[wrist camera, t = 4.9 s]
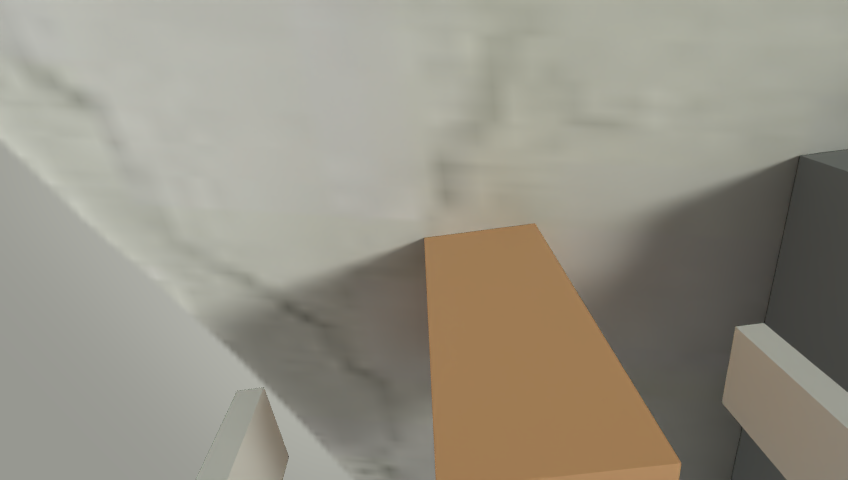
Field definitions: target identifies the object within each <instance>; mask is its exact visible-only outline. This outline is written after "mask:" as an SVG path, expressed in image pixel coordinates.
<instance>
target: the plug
mask: <svg viewBox="0 0 848 480" xmlns="http://www.w3.org/2000/svg"><path fill="white" fill-rule="evenodd" d="M424 245H425V265H426V286H427V307H428V328H429V348H430V369H431V390H432V411H433V431H434V452H435V473H436V480H679V477H680V470H681V462H680V460H679V458H678V457H677V455H676V453H675V452H674V450H673V448H672V447H671V445H670V444H669V442H668V440H667V439H666V437H665V435H664V434H663V432H662V430H661V429H660V427H659V426H658V424H657V422H656V421H655V419H654V417H653V416H652V414H651V412H650V411H649V409H648V408H647V406H646V404H645V403H644V401H643V399H642V398H641V396H640V394H639V393H638V391H637V390H636V388H635V386H634V385H633V383H632V381H631V380H630V378H629V376H628V375H627V373H626V372H625V370H624V368H623V367H622V365H621V363H620V362H619V360H618V358H617V357H616V355H615V354H614V352H613V350H612V349H611V347H610V345H609V344H608V342H607V340H606V339H605V337H604V336H603V334H602V332H601V331H600V329H599V327H598V326H597V324H596V322H595V321H594V319H593V318H592V316H591V314H590V313H589V311H588V309H587V308H586V306H585V304H584V303H583V301H582V300H581V298H580V296H579V295H578V293H577V291H576V290H575V288H574V286H573V285H572V283H571V282H570V280H569V278H568V277H567V275H566V273H565V272H564V270H563V268H562V267H561V265H560V264H559V262H558V260H557V259H556V257H555V255H554V254H553V252H552V250H551V249H550V247H549V246H548V244H547V242H546V241H545V239H544V237H543V236H542V234H541V232H540V231H539V229H538V228H537V226H536V224H527V225H520V226H512V227H504V228H497V229H489V230H481V231H474V232H466V233H458V234H450V235H443V236H435V237H427V238H424Z"/></svg>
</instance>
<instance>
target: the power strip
mask: <svg viewBox="0 0 848 480" xmlns="http://www.w3.org/2000/svg"><path fill="white" fill-rule="evenodd" d="M765 324H766V325H767V326H768V327H769V328H770V329H772V330H773V331H774V332H775V333H776V334H778V335H779V336H780V337H781V338H782V339H784V340H785V341H786V342H787V343H789V344H790V345H791V346H792V347H793V348H795V349H796V350H797V351H798V352H799V353H801V354H802V355H803V356H804V357H805V358H807V359H808V360H809V361H810V362H812V363H813V364H814V365H815V366H816V367H818V368H819V369H820V370H821V371H822V372H824V373H825V374H826V375H827V376H828V377H830V378H831V379H832V380H833V381H834V382H836V383H837V384H838V385H839V386H841V387H842V388H843V389H844V390H845V391H847V392H848V149H847V150H839V151H831V152H824V153H816V154H809V155H801V156H800V159H799V164H798V168H797V173H796V178H795V183H794V187H793V192H792V197H791V201H790V206H789V211H788V215H787V220H786V225H785V230H784V234H783V239H782V244H781V248H780V253H779V258H778V262H777V267H776V272H775V277H774V281H773V286H772V291H771V295H770V300H769V305H768V310H767V314H766V319H765ZM731 480H786V478H785V477H784V476H783V475H782V474H781V472H780V471H779V470H778V469H777V468H776V466H775V465H774V464H773V463H772V462H771V461H770V459H769V458H768V457H767V456H766V455H765V453H764V452H763V451H762V450H761V449H760V447H759V446H758V445H757V444H756V443H755V441H754V440H753V439H752V438H751V437H750V436H749V434H748V433H747V432H746V431H745V430H744V428H743V427H742V432H741V436H740V441H739V446H738V451H737V455H736V460H735V465H734V469H733V474H732V479H731Z"/></svg>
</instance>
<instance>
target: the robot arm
mask: <svg viewBox="0 0 848 480" xmlns="http://www.w3.org/2000/svg"><path fill="white" fill-rule="evenodd" d="M722 403H723V405H724V406H725V407H726V408H727V409H728V411H729V412H730V413H731V414H732V415H733V416H734V418H735V419H736V420H737V421H738V422H739V424H740V425H741V426H742V427H743V428H744V430H745V431H746V432H747V433H748V434H749V436H750V437H751V438H752V439H753V440H754V441H755V443H756V444H757V445H758V446H759V447H760V449H761V450H762V451H763V452H764V453H765V455H766V456H767V457H768V458H769V459H770V461H771V462H772V463H773V464H774V465H775V466H776V468H777V469H778V470H779V471H780V472H781V474H782V475H783V476H784V477H785V478H786V480H848V392H847V391H845V390H844V389H843V388H842V387H841V386H839V385H838V384H837V383H836V382H834V381H833V380H832V379H831V378H830V377H828V376H827V375H826V374H825V373H824V372H822V371H821V370H820V369H819V368H818V367H816V366H815V365H814V364H813V363H812V362H810V361H809V360H808V359H807V358H805V357H804V356H803V355H802V354H801V353H799V352H798V351H797V350H796V349H795V348H793V347H792V346H791V345H790V344H789V343H787V342H786V341H785V340H784V339H782V338H781V337H780V336H779V335H778V334H776V333H775V332H774V331H773V330H772V329H770V328H769V327H768V326H767V325H766V324H764V323H759V324H752V325H744V326H736V327H735V332H734V337H733V343H732V348H731V354H730V360H729V365H728V371H727V376H726V382H725V387H724V393H723V399H722ZM288 457H289V456H288V453H287V450H286V447H285V445H284V442H283V439H282V436H281V434H280V431H279V428H278V425H277V423H276V420H275V417H274V414H273V411H272V409H271V406H270V403H269V400H268V398H267V395H266V392H265V389H264V387H263V388H255V389H248V390H240V391H237V393H236V394H235V396H234V399H233V401H232V403H231V405H230V407H229V409H228V411H227V414H226V416H225V418H224V420H223V422H222V425H221V426H220V429H219V431H218V433H217V435H216V437H215V439H214V441H213V443H212V446H211V448H210V450H209V452H208V454H207V456H206V459H205V461H204V463H203V465H202V467H201V469H200V471H199V473H198V476H197V478H196V480H283V476H284V473H285V469H286V465H287V462H288Z"/></svg>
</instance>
